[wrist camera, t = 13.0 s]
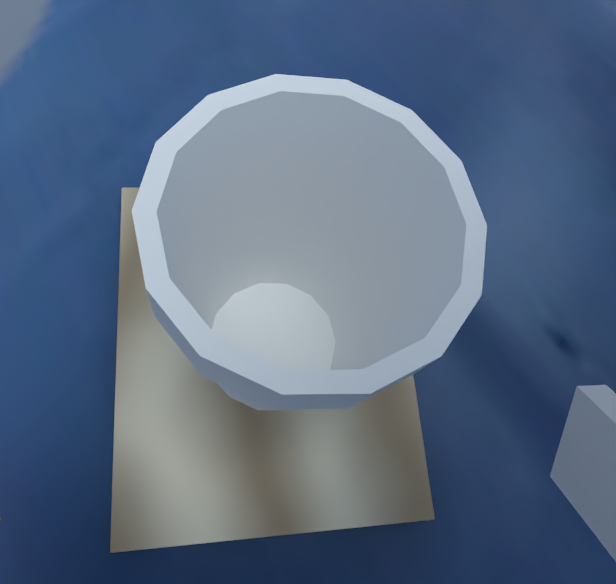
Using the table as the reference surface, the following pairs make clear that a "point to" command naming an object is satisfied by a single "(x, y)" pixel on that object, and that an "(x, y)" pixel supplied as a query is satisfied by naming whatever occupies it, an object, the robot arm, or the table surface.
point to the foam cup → (307, 242)
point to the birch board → (244, 446)
